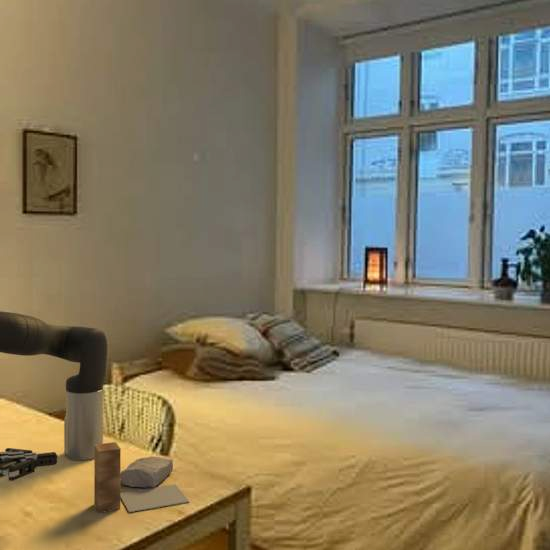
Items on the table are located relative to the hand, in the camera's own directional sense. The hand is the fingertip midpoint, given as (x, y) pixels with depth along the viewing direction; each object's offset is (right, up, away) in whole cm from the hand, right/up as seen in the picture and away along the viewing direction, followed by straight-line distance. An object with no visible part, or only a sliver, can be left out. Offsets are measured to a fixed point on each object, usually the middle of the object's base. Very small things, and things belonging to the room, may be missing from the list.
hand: (56, 458), depth 129 cm
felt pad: (+18, -12, +10) cm, 24 cm away
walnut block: (+9, -12, +5) cm, 16 cm away
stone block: (+14, -11, +21) cm, 27 cm away
